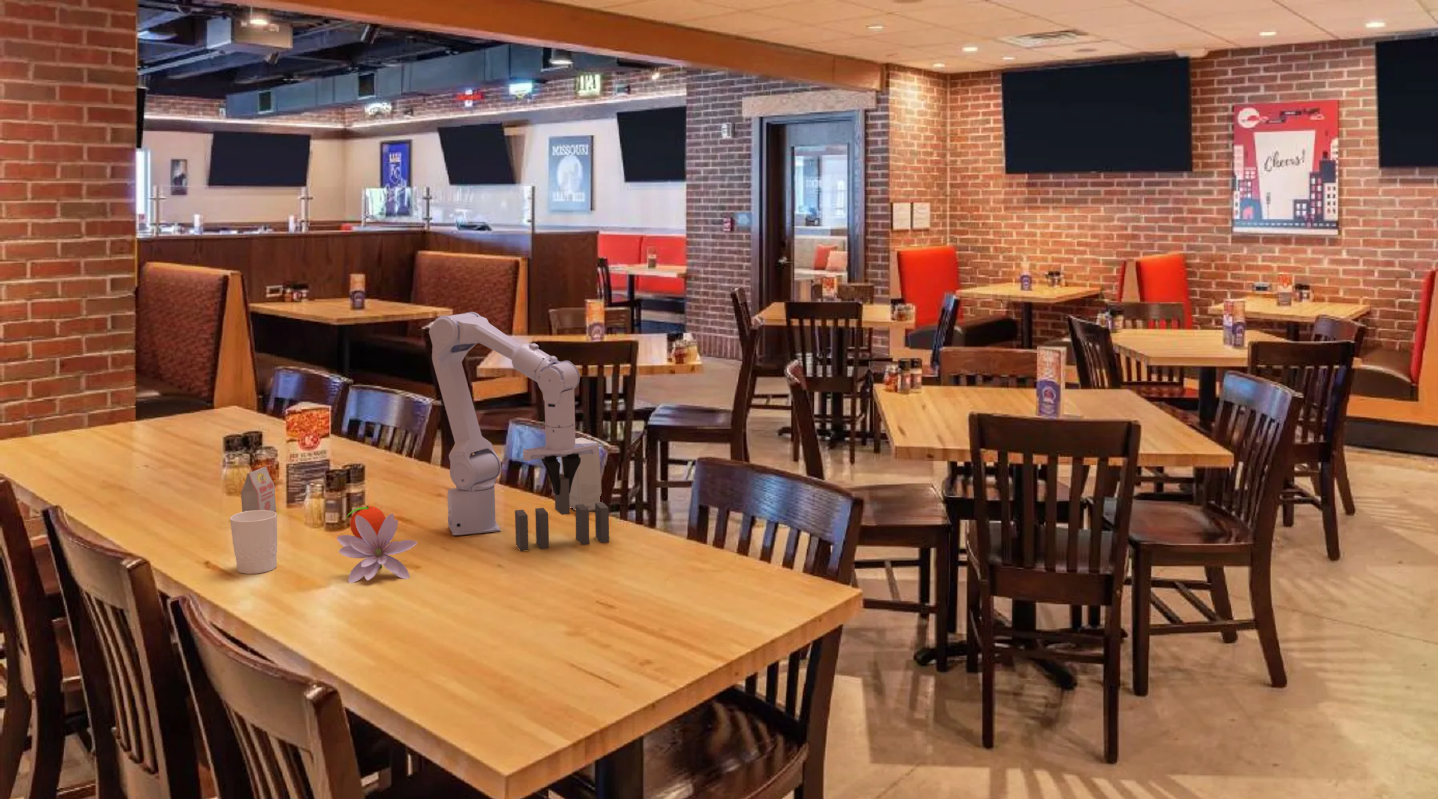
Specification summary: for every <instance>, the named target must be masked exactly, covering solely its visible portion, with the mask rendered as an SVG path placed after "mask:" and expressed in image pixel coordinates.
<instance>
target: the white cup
mask: <svg viewBox="0 0 1438 799" xmlns="http://www.w3.org/2000/svg"><path fill="white" fill-rule="evenodd" d="M277 518H278V515H277V511H276V512H274V511H269V510H253V511H245V512H242V511H240V512H237V513H234V514H233V515H231V516H230V517H229V520H230V521H229V522H230V527H231V536H232V544H233V545H232V546H233V551H234V552H233V553H234V557H235V563H236V564H235V565H236V570H237V572H239V573H241V574H247V575H250V574H251V575H254V574H255V575H256V574H263V573H267V572H270V571H272V570H274V569H276V568H277V566H278V565H277V562H278V561H277V553H278V523H277V522H278V520H277Z"/></svg>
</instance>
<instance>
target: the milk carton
mask: <svg viewBox="0 0 1438 799" xmlns="http://www.w3.org/2000/svg"><path fill="white" fill-rule="evenodd" d="M245 478H246V479H245V481H244V483H243V486H242V488H241V491H240V496H241V497H240V499H241V512H245V511H253V510H269V511H274V512H276V513H277V506H276V502H277V501H276V487H275V484H274V481H273V480H272V478H271V475H270V473H269V471H268V467H267V466H262V467H261V468H258V469H256V470H253V471H251V472H248V473H247V474H246V477H245Z"/></svg>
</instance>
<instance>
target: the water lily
mask: <svg viewBox="0 0 1438 799" xmlns="http://www.w3.org/2000/svg"><path fill="white" fill-rule="evenodd" d="M385 518H386V519H385V520H384V522H383V523H382V526H381V528H380V530H379V532H378V536H377V535H376V533H375V531H374V530H373V528H372V527H371V525H370V524H369V523H368V521H367V520H366V519H364V518H363V517H361V516H358V515H356V518H355V523H356V527H357V530H358V532H359V534H360V535H361V537H362V538H363V540H362V539H360V538H358V537H355V536H354V535H351V534H342V535H341V534H340V535H338V536H336V540H337V542H338V543H339V544H340V545H341V546H343V547H341V548H340V549H339V550H338V553H339V554H341V555H342V556H345V557H346V558H352V559H362V560H361V561H359V562H358V563H357V564H356V565H355V566H354V567H353V568H352V570H351V571H350V573H349V576H348V579H347V582H348V584H353V583H356V582H358V581H359V580H361V579H363V577H364V578H365V580H366V581H370V580H371V579H373V578H374V577H375V576H376V574H377V573H378V571H379V569H382V568H383V567H384V568H385V569H387V570H388V571H389V572H391V573H392V574H394V575H395V576H397V577H399V578H401V579H403V580H407V579H410V573H409V571H408V569H407V567H406V566H405V565H404V564H403V563H402V561H400V560H398V559H397V558H395V557H393V556H391V555H398V554H401V553H404V552H407V551H408V550H410V549H412V548H413V547H415V546H416V545H417V544H418V542H417V541H416V540H412V539H404V540H399V541H398V540H394V541H392V540H393V538H394V537H395V535H396V532H397V529H398V524H399V522H398V521H399V520H398V519H395V514H394V513H393V512H392V513H390V514H388V515H387V517H386V516H385ZM391 541H392V542H391Z"/></svg>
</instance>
